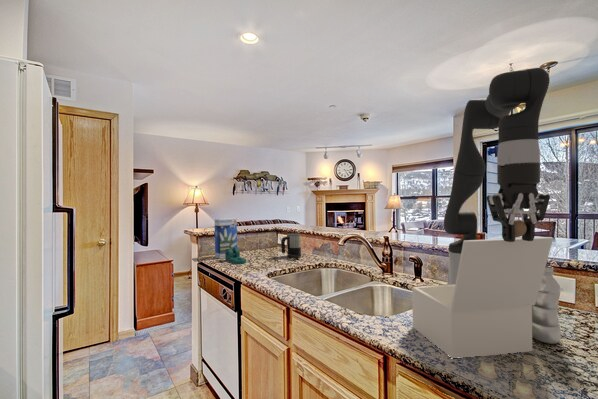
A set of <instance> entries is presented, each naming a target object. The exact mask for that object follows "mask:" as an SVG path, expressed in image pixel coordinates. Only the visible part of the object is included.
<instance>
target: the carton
mask: <svg viewBox="0 0 598 399" xmlns="http://www.w3.org/2000/svg"><path fill="white" fill-rule="evenodd" d="M454 289H455V285H448V284H443V285H442V284H441V285H429V286H428V285H427V286H412V288H411V292H412V294H411V297H412V298H411V299H412V302H411V304H412V328H413V329H414V330H416V331H417V332H418V333H419V334H420V335H422V336H423V337H424V338H425V337H426V340H427V341H429V342H430V343H431V342H432V343H431V344H433V346H435V345H436V346H437V347H438V348H437V347H436V346H435V347H436V348H437V349H439V348H440V349H441V350H442V351H444V352H445V353H446V354H447V355H449V356H450V357H451V358H457V357H471V358H476V357H475V356H481V357H490V355H491V356H499V355H500V354H501V355H509V354H508V353H511V354H519V352H521V353H530V352H533V337H532V305H530V306H517V307H504V308H491V309H478V310H465V311H451V305H452V300H453V294H454ZM440 349H439V350H440ZM441 350H440V351H441ZM442 351H441V352H442ZM529 351H530V352H529ZM517 352H518V353H517ZM445 353H444V354H445ZM446 354H445V355H446ZM447 355H446V356H447ZM451 358H450V359H451Z"/></svg>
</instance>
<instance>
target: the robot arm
mask: <svg viewBox="0 0 598 399" xmlns="http://www.w3.org/2000/svg"><path fill="white" fill-rule="evenodd" d="M549 85H550V75H549V73H548V72H547V70H546V69H544V68H542V67H531V68H525V69H519V70H511V71H510V70H509V71H505V72H504V71H503V72H500V73H498V74H496V75H495V76H494V77H493V78H492V79H491V81H490V83H489V87H488V95H487V96H486V98H471V99H469V100H468V101H467V103H466V105H465V108H464V113H463V119H462V127H461V135H460V143H459V149H458V154H457V158H456V163H455V167H454V170H453V171H454V173H453V178H452V184H451V191H450V196H449V200H448V203H447V205H446V206H447V207H446V210H445V214H444V217H443V228H444V231H445V232H446V233H447V234H449V235H463V236H461V238H460V239H458V240H456V241H453V242H450V243H449V245H448V269H447V285H455V284H456V278H457V273H458V268H459V262H460V257H461V252H462V246H463V241H464V240H478V238H477V236H478V235H477V234H478V217H477V214H476V212H474V211H472V210H461V208H462V207H463V205H464V204H465V203H466V202H467V200H468V199H470V197H472V196H473V195H475V193H476V192H477V191H478V190H479V189H480V188H481V186H482V183H483V180H484V176H485V172H486V168H487V166H486V163H485V160H484V157H483V156H482V155H481V152H480V151H479V148H478V147H477V144H476V142H475V139H474V136H473V134H474V130H494V129H495V130H496V129H498V130H497V131H498V134H497V135H498V144H497V145H498V147H497V155H496V156H497V157H496V158H497V159H496V161H497V162H496V164H497V166H496V169H497V170H496V171H497V174H496V175H497V178H496V181H497V183H496V184H497V185H499V189H498V192H497V193H495V194H491V195H490V194H489V195H487V196H486V202H487V205H488V208H489V211H490V215H491V217H492V218H491V219H492V221H494V222H497V223H500V224H501V237H502V239H504V241H507V242H514V241H515V225H512V224H514V220H515V219H516V216H517V215H518V214H520V218H521V221H523V222H524V223H525V225H526V227H527V231H526V233H525V234H524V235H523V236H521V238H522V240H525V241H533V240H534V238H536V230H535V229H536V224H537V222H542V221H544V220H545V216H546V213H547V208H548V206H549V203H550V198H551V196H550V194H542V193H540V192H539V190H538V189H537V185H538V184H539V183H541V150H540V148H541V147H540V143H539V123H540V122H539V120H540V115H541V111H542V107H543V104H544V101H545V97H546V95H547V92H548V90H549ZM521 104H524V105H525V106H524V108H523V110H521V111H519V112H515V113H512V114H510V113H511V112H512V111H513V110H515V109H516V108H518V107H519V106H520V105H521Z"/></svg>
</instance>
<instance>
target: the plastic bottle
mask: <svg viewBox="0 0 598 399" xmlns="http://www.w3.org/2000/svg"><path fill="white" fill-rule="evenodd" d="M554 275H555V272H554V266H550V265H546V267H545V270H544V274H543V278H542V281H541V285H540V288H539V292H538V296H537V299H536V303H535V305H532V339H535V340H536V341H538V342H541V343H545V344H550V345H552V344H553V345H554V344H555V345H556V344H558V343H559V342H560V340H561V337H562V333H561V327H560V323H559V315H558V314H559V311H558V310H559V309H558V308H559V301H560V295H561V290H562V289H561V286H560V283H558V281H557V280H556V279H555V277H553V276H554Z"/></svg>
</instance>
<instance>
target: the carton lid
mask: <svg viewBox="0 0 598 399" xmlns="http://www.w3.org/2000/svg"><path fill="white" fill-rule="evenodd" d="M512 225H515V241H514V242H507V241H504V239H503V238H492V239H491V238H490V239H477V240H464V241H463V246H462V252H461V257H460V262H459V268H458V273H457V278H456V284H455V289H454V294H453V300H452V305H451V311H465V310H478V309H491V308H504V307H517V306H530V305H535V303H536V299H537V296H538V292H539V288H540V285H541V281H542V278H543V274H544V270H545V267H546V266H547V263H548V260H549V259H548V258H549V256H550V251H551V249H552V245H553V241H554V237H552V236H542V237H541V236H540V237H538V236H537V237H534V240H533V241H525V240H522V236H523V235H524V234H525V233H526V231H527V227H526V225H525V223H524V222H523V221H522V219H518V218H515V220H514V224H512Z"/></svg>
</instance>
